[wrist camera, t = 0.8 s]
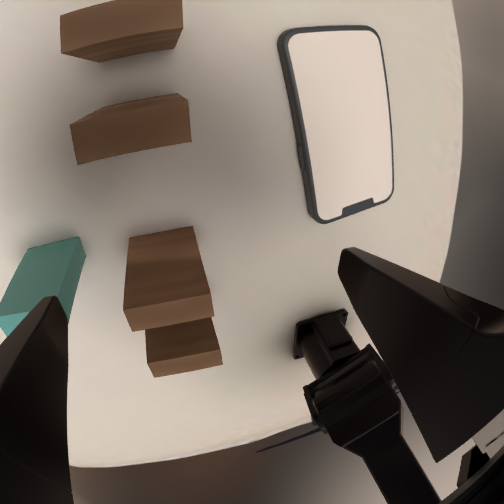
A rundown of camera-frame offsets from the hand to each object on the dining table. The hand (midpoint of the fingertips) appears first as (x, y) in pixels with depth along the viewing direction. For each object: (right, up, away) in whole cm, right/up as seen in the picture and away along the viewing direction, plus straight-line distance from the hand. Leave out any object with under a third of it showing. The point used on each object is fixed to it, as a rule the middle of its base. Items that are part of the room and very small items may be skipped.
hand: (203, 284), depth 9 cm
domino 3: (-6, +10, +8) cm, 14 cm away
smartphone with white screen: (+8, +11, +13) cm, 20 cm away
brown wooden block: (-5, -2, +17) cm, 18 cm away
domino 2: (-6, +14, +6) cm, 16 cm away
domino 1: (-14, +1, +12) cm, 18 cm away
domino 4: (-6, +2, +14) cm, 15 cm away
